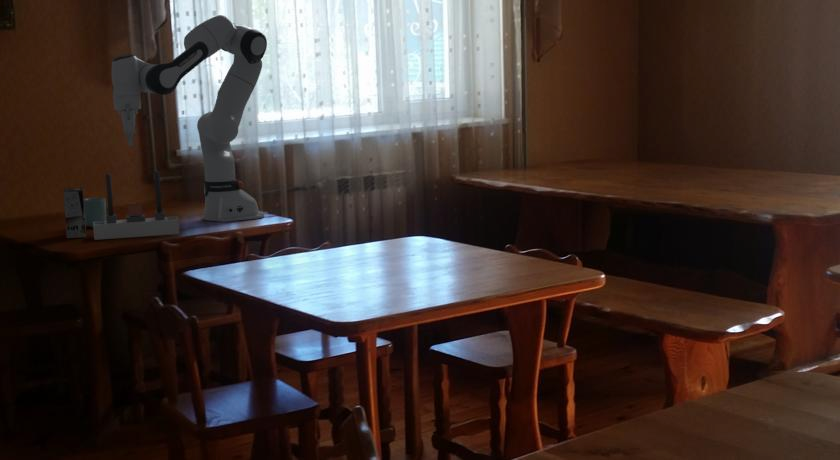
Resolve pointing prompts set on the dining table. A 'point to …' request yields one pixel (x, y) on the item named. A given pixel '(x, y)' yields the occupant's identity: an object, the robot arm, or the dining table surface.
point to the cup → (94, 210)
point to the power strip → (135, 227)
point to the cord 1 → (110, 201)
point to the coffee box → (74, 212)
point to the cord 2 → (158, 198)
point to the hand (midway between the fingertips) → (130, 145)
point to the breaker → (135, 210)
